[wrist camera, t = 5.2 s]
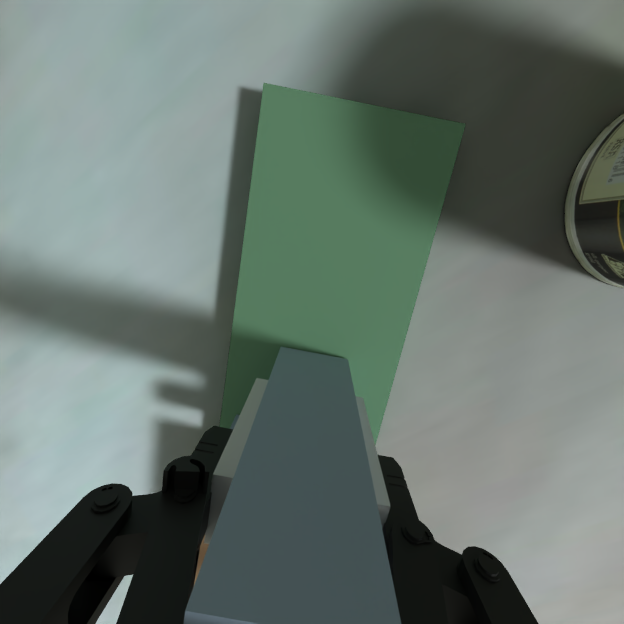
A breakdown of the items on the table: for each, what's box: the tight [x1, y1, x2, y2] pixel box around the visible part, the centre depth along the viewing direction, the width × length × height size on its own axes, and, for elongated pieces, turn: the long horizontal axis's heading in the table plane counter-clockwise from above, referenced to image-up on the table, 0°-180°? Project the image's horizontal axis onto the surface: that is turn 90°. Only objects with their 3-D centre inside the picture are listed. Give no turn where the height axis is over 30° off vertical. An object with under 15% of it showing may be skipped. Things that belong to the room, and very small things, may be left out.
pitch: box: [219, 83, 466, 444], centre depth 18 cm, size 21×10×2 cm, turn 169°
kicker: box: [184, 347, 401, 624], centre depth 12 cm, size 7×8×14 cm
